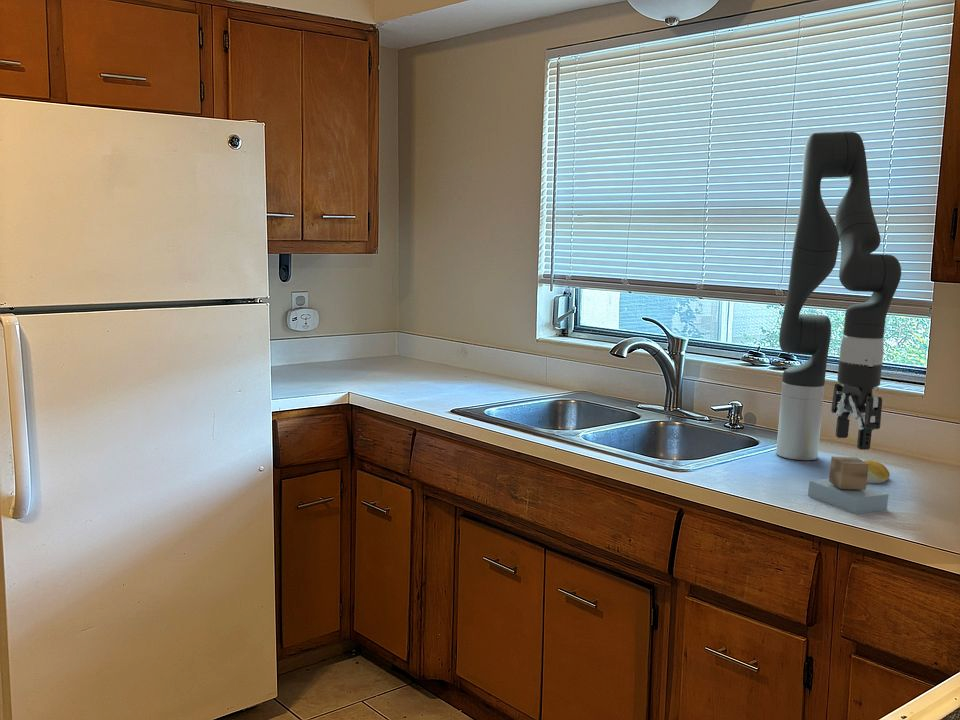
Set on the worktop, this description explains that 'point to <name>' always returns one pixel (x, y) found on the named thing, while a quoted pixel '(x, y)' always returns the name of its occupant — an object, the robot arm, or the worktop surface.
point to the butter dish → (848, 497)
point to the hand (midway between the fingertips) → (852, 443)
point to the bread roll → (877, 472)
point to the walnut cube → (848, 473)
